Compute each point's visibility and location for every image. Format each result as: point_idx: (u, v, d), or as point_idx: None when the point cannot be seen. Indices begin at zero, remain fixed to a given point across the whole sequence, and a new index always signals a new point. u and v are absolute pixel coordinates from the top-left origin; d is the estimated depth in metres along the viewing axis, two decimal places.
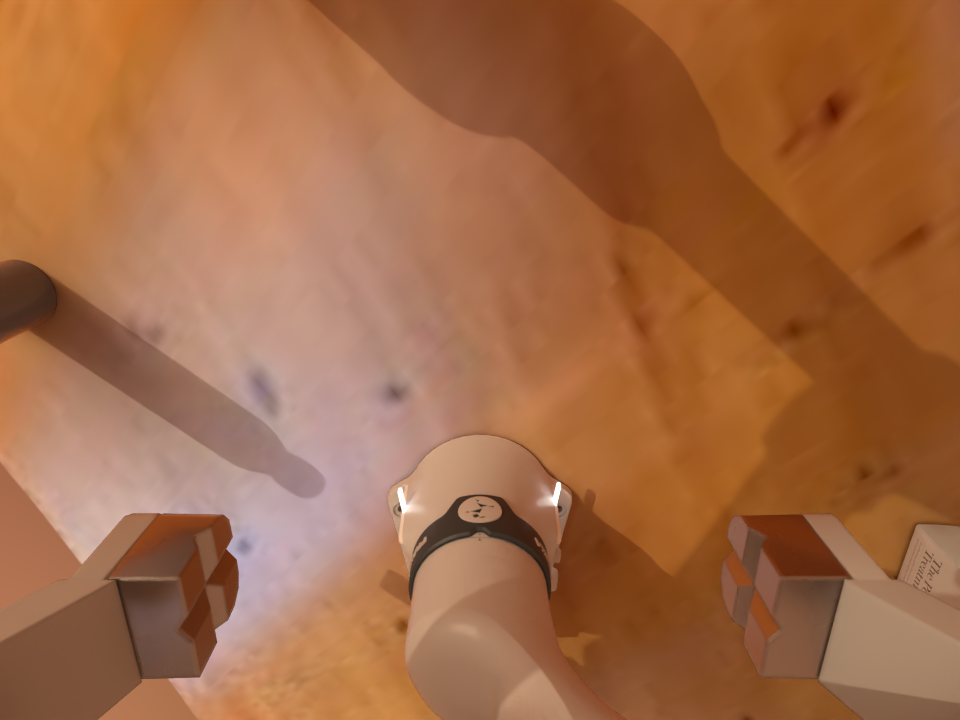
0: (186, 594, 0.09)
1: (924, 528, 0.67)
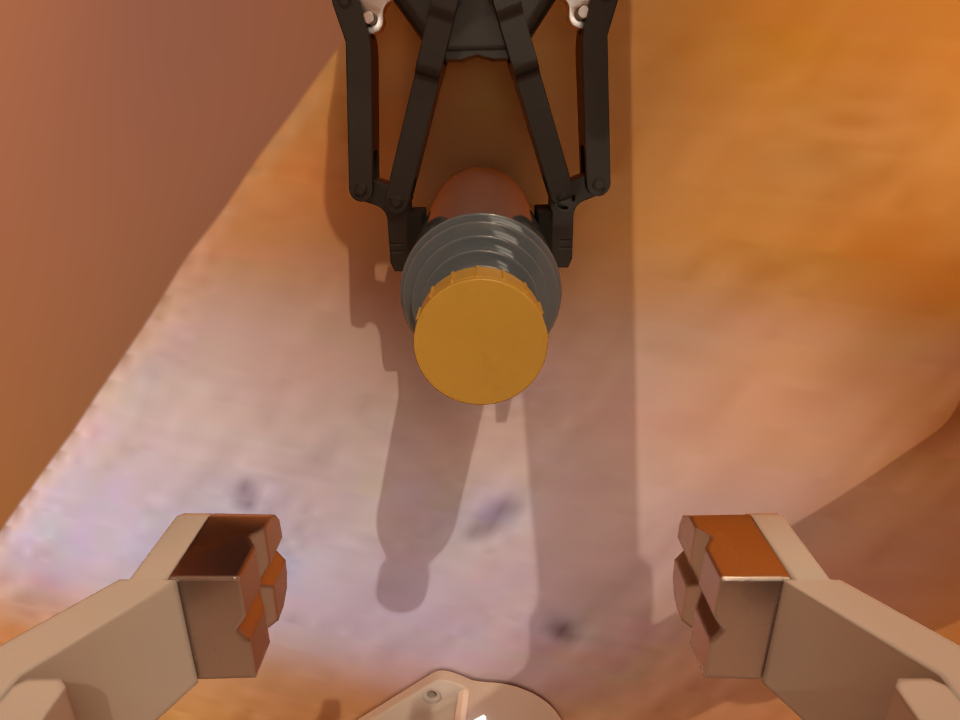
0: (245, 593, 0.09)
1: None
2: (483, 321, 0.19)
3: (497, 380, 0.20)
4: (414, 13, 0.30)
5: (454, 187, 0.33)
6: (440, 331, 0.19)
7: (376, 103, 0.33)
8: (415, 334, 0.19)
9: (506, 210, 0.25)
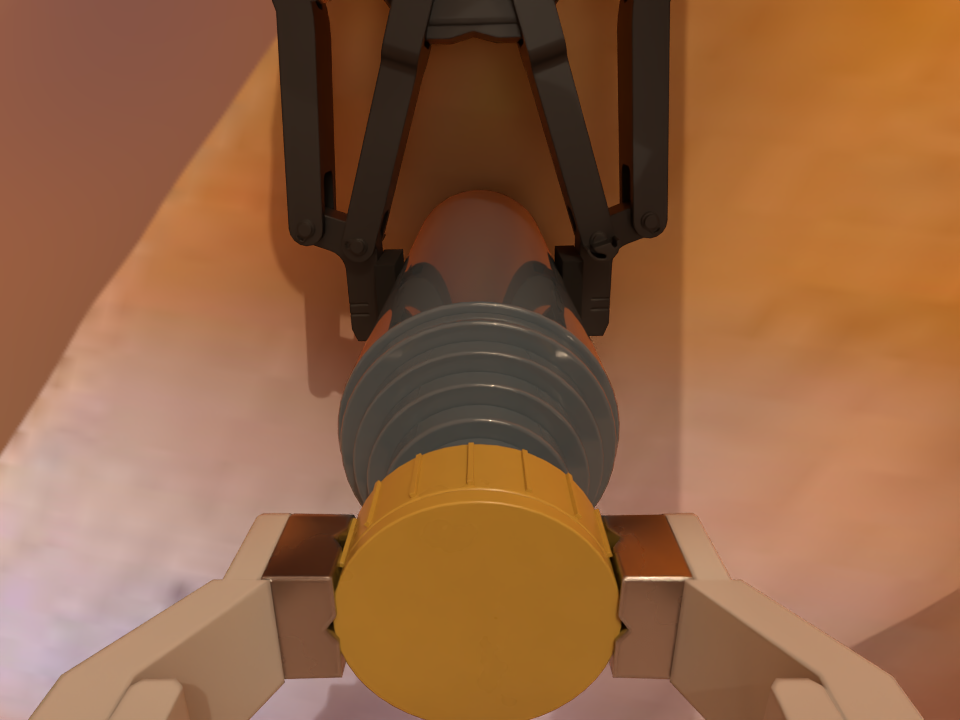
0: None
1: None
2: (483, 582, 0.09)
3: (512, 687, 0.09)
4: None
5: (441, 227, 0.22)
6: (389, 600, 0.09)
7: (328, 104, 0.23)
8: (336, 605, 0.09)
9: (522, 288, 0.14)
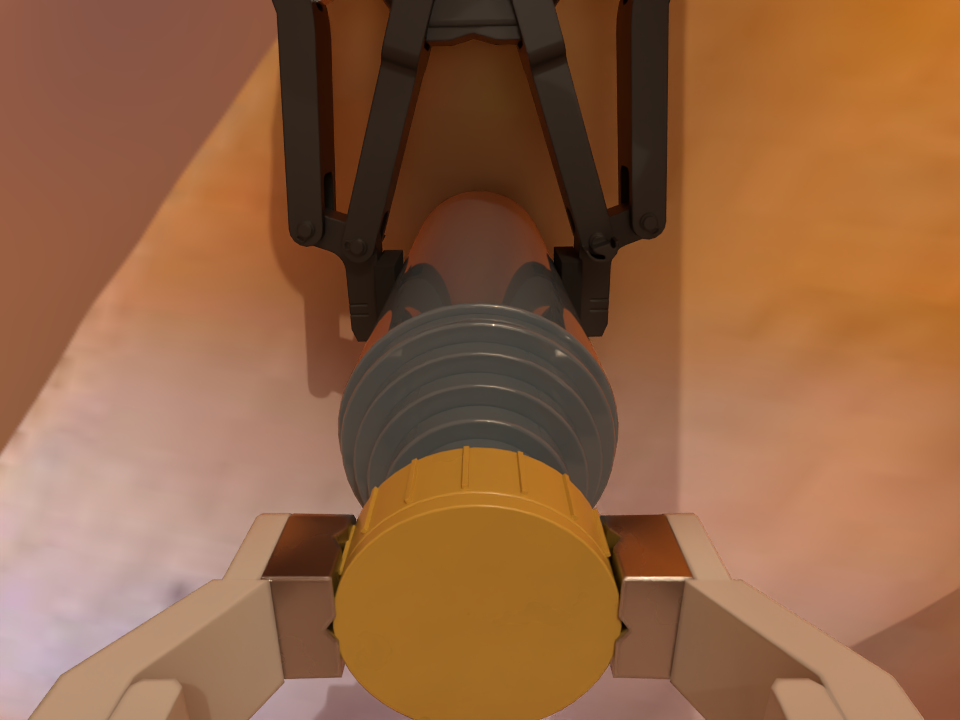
0: (335, 593, 0.09)
1: None
2: (425, 623, 0.09)
3: (562, 596, 0.09)
4: None
5: (440, 228, 0.22)
6: (451, 692, 0.09)
7: (328, 105, 0.23)
8: None
9: (522, 289, 0.15)
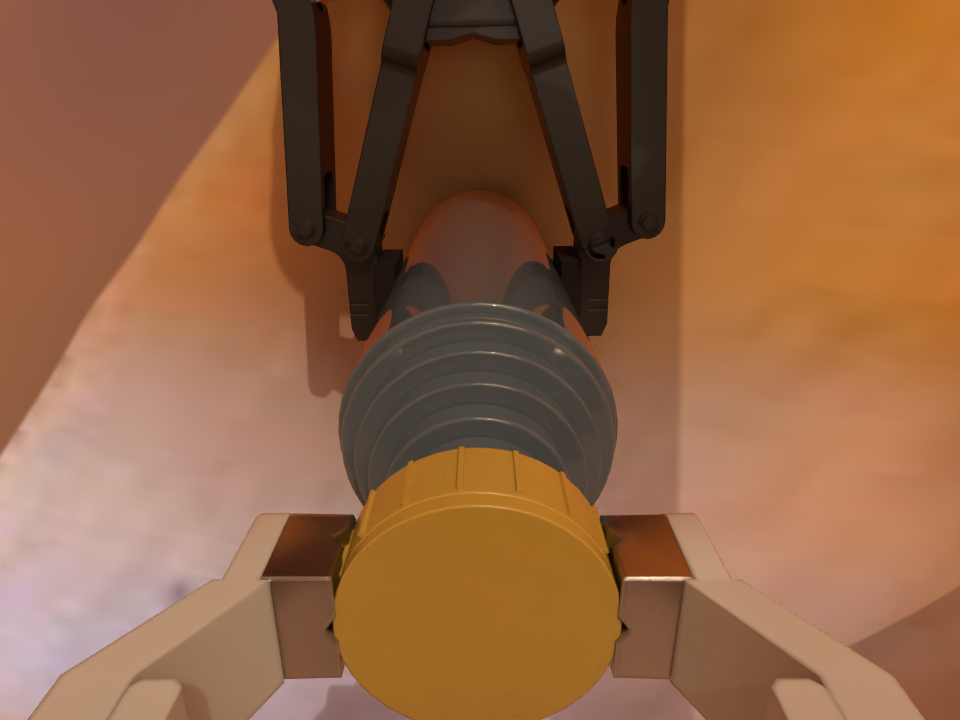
0: (335, 593, 0.09)
1: None
2: (475, 666, 0.09)
3: (432, 561, 0.09)
4: None
5: (440, 227, 0.22)
6: (564, 646, 0.09)
7: (328, 105, 0.23)
8: (617, 636, 0.09)
9: (522, 288, 0.15)
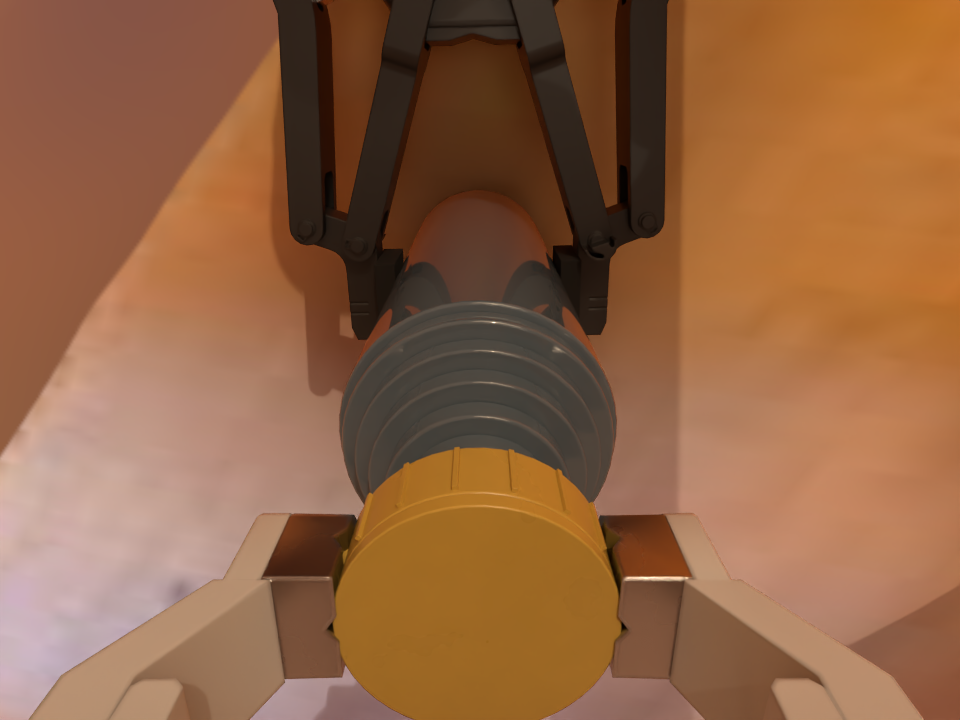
0: None
1: None
2: (529, 627, 0.09)
3: (398, 662, 0.09)
4: None
5: (440, 227, 0.23)
6: (499, 555, 0.08)
7: (328, 105, 0.23)
8: (486, 507, 0.08)
9: (521, 287, 0.15)
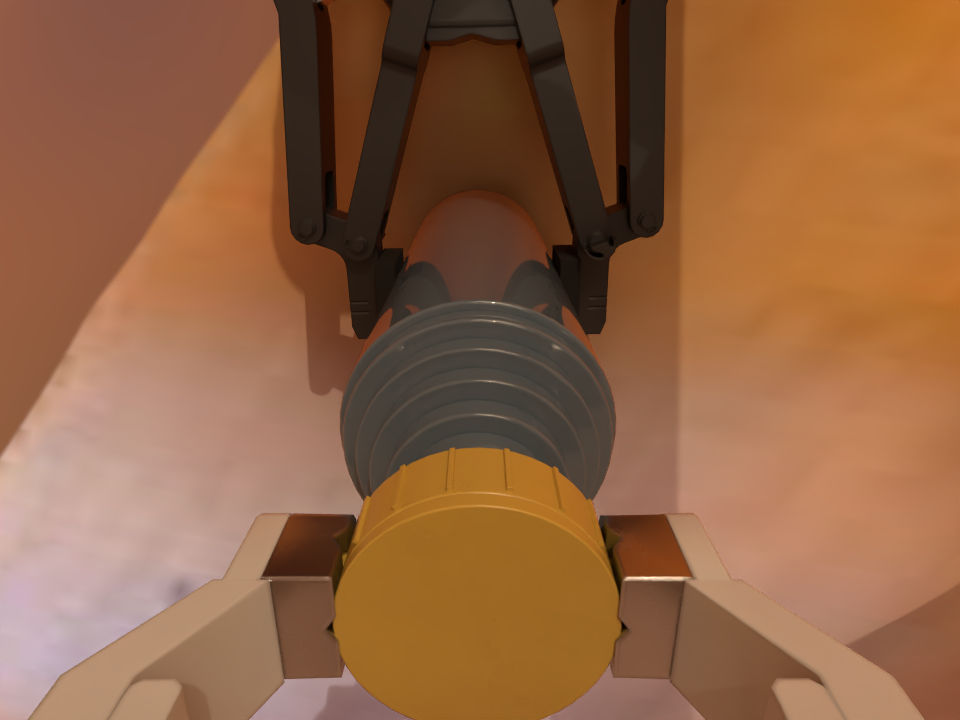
0: None
1: None
2: (476, 585, 0.09)
3: (523, 686, 0.09)
4: None
5: (440, 226, 0.23)
6: (387, 614, 0.09)
7: (329, 104, 0.23)
8: (335, 624, 0.09)
9: (521, 286, 0.15)
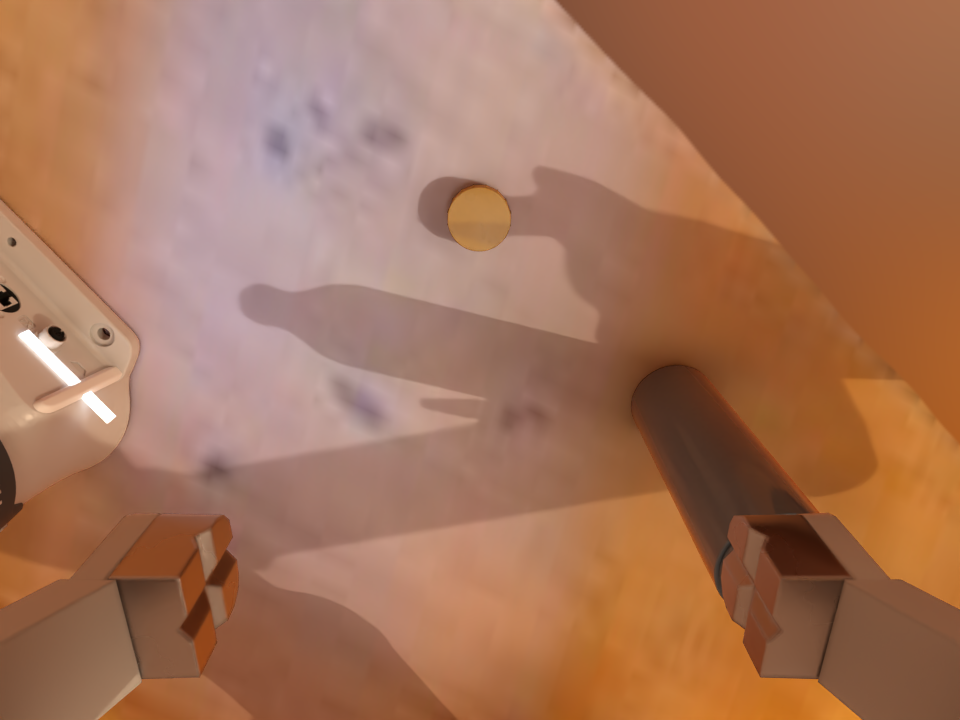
0: (187, 593, 0.09)
1: None
2: (478, 208, 0.41)
3: (489, 237, 0.41)
4: None
5: None
6: (459, 216, 0.41)
7: None
8: (448, 219, 0.41)
9: None
